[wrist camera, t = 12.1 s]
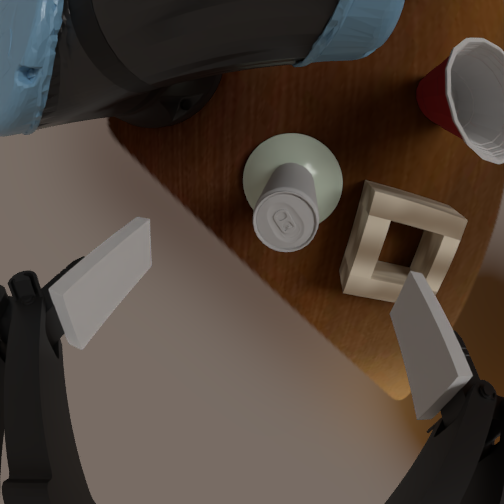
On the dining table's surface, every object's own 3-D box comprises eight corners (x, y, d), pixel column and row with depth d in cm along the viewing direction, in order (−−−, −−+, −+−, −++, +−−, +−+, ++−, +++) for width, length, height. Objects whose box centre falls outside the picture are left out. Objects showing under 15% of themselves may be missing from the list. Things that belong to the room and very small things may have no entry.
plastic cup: (462, 158, 25) (522, 185, 14) (388, 125, 26) (434, 133, 15) (478, 81, 20) (540, 79, 9) (404, 42, 20) (451, 12, 10)
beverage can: (284, 211, 32) (273, 264, 21) (261, 175, 30) (237, 210, 20) (322, 191, 30) (332, 235, 19) (299, 153, 28) (297, 176, 18)
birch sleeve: (364, 179, 29) (375, 191, 25) (449, 205, 28) (467, 220, 24) (339, 270, 35) (342, 293, 30) (417, 286, 34) (428, 308, 29)
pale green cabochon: (251, 125, 29) (249, 126, 28) (350, 144, 28) (352, 145, 27) (239, 217, 34) (237, 219, 33) (329, 234, 33) (330, 238, 32)
